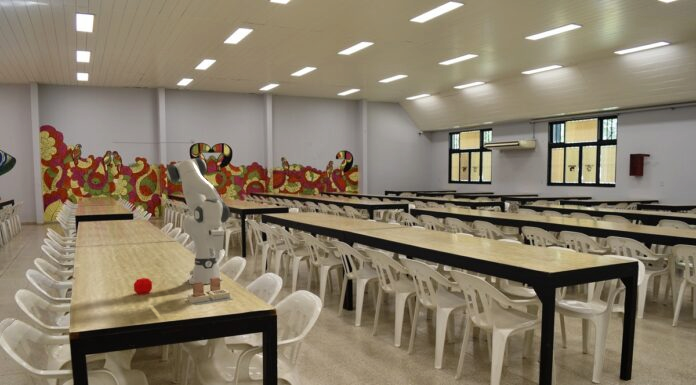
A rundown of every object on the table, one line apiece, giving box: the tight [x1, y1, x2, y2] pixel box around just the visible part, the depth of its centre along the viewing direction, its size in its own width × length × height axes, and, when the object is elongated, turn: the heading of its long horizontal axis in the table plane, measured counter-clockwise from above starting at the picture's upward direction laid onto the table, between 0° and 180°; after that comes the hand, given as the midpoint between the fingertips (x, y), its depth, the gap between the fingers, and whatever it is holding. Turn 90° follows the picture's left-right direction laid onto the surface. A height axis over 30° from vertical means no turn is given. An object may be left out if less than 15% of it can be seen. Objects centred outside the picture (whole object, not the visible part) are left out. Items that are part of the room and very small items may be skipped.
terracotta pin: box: [209, 277, 221, 292], centre depth 252 cm, size 4×4×8 cm
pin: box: [192, 282, 205, 297], centre depth 234 cm, size 4×4×8 cm
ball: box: [133, 277, 153, 296], centre depth 256 cm, size 8×8×8 cm
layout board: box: [185, 289, 234, 306], centre depth 236 cm, size 18×18×4 cm
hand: (214, 257), depth 251 cm, fingers open, 8 cm apart
